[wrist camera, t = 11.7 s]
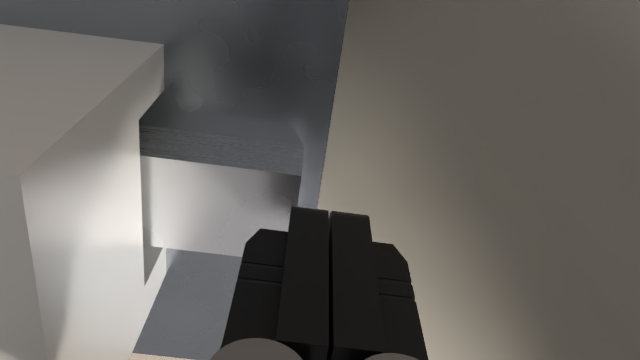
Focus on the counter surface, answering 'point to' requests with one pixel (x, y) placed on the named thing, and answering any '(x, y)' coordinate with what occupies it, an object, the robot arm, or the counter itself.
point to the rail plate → (216, 136)
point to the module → (74, 194)
